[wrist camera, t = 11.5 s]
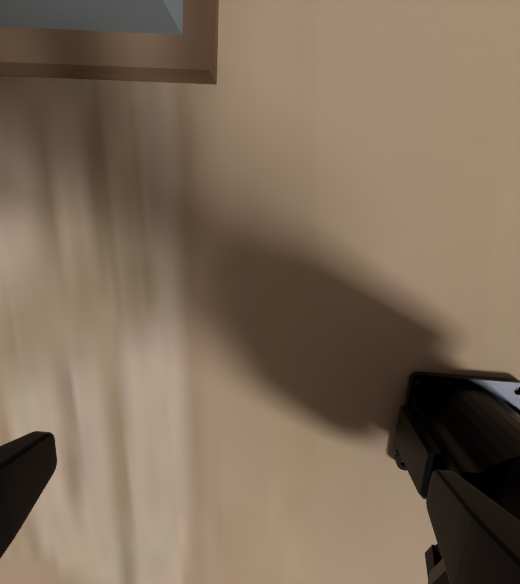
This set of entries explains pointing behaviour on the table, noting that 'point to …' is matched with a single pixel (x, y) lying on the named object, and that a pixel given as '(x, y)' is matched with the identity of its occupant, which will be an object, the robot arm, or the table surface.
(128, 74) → the walnut slab
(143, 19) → the grey slab
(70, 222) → the table surface
